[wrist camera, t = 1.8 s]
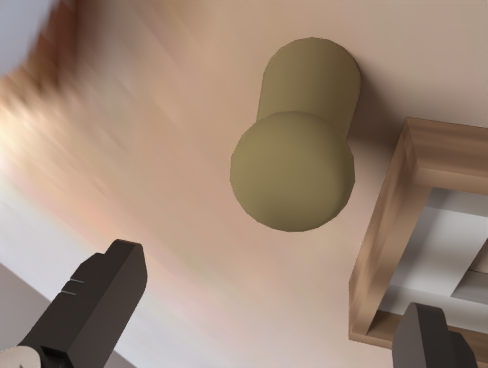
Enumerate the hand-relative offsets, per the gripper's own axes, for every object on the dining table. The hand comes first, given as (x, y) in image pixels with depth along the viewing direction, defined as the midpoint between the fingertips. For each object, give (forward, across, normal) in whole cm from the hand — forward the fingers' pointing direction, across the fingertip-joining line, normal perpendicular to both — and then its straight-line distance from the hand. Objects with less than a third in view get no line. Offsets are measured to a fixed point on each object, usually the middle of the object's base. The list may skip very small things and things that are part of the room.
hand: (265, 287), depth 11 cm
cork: (+15, 0, 0) cm, 15 cm away
